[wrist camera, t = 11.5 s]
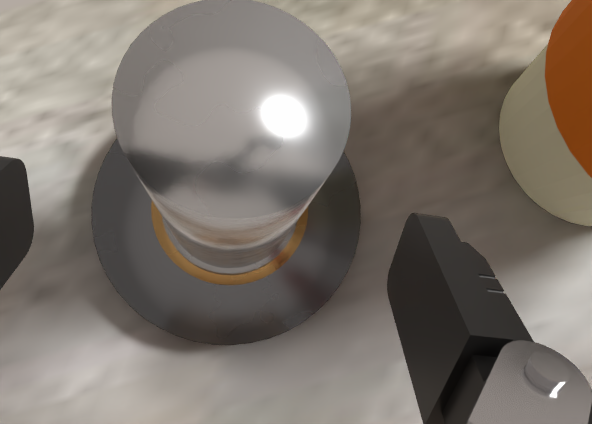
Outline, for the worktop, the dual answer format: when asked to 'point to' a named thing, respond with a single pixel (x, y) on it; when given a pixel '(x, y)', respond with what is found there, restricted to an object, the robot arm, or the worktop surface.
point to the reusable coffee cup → (555, 120)
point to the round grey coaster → (213, 287)
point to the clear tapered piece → (230, 127)
